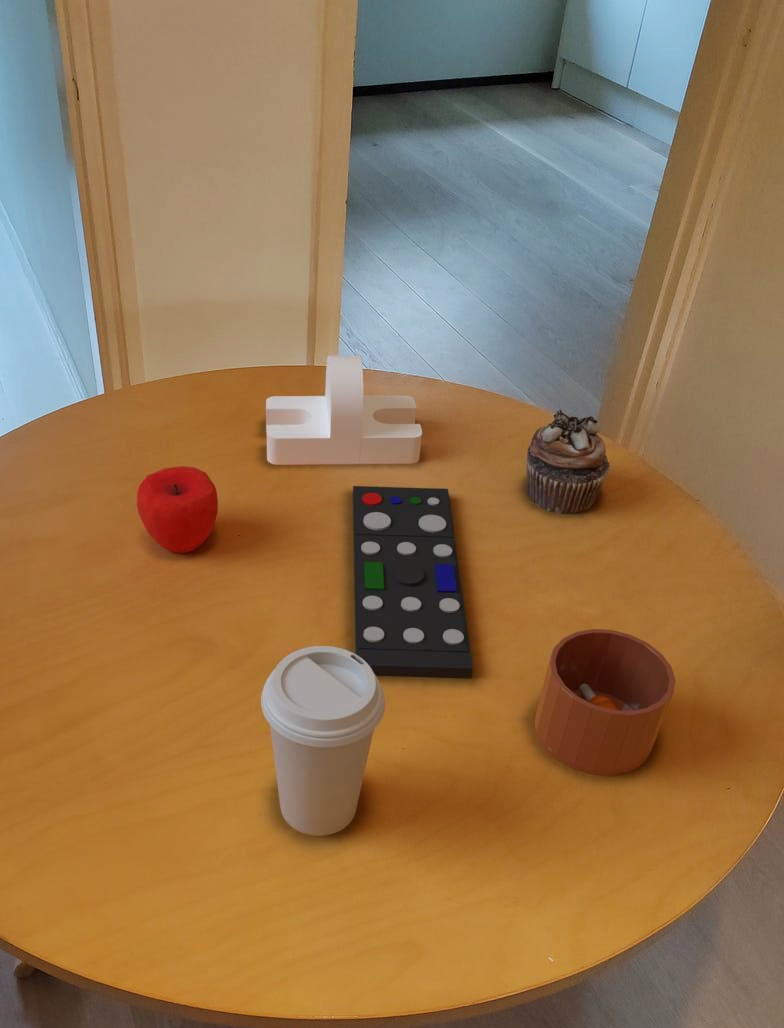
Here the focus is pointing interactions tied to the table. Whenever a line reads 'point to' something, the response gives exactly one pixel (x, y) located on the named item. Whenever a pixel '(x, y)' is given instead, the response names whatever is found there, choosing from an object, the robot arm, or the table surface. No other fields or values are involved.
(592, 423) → the cupcake
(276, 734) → the coffee cup
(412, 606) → the remote control
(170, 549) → the apple
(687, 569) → the table surface
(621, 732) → the utensil cup
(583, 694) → the orange double-bulb handle
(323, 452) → the bracket
